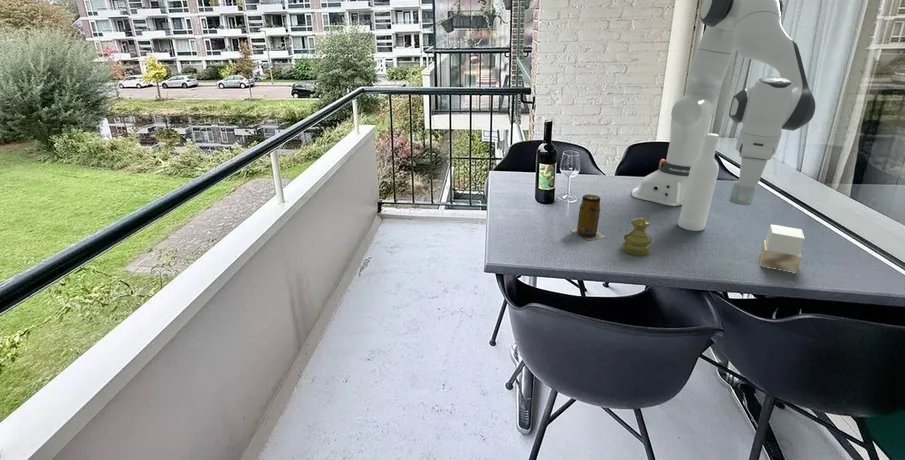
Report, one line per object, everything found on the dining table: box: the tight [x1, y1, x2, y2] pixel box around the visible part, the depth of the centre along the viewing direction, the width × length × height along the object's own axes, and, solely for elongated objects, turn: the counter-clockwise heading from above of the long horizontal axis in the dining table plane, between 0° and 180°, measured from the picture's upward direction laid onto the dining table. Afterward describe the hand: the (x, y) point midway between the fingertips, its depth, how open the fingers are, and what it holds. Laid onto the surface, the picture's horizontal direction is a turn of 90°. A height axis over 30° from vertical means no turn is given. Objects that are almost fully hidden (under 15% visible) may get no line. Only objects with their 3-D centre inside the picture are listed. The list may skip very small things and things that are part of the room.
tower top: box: [765, 224, 806, 256], centre depth 122 cm, size 7×7×5 cm
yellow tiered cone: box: [621, 217, 653, 257], centre depth 129 cm, size 7×7×10 cm
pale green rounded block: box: [728, 180, 758, 206], centre depth 121 cm, size 5×5×5 cm
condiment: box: [569, 194, 607, 241], centre depth 140 cm, size 7×8×12 cm
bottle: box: [677, 132, 720, 232], centre depth 143 cm, size 8×8×30 cm
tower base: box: [759, 239, 803, 273], centre depth 124 cm, size 8×8×5 cm
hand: (741, 196), depth 122 cm, fingers closed on pale green rounded block, 5 cm apart
